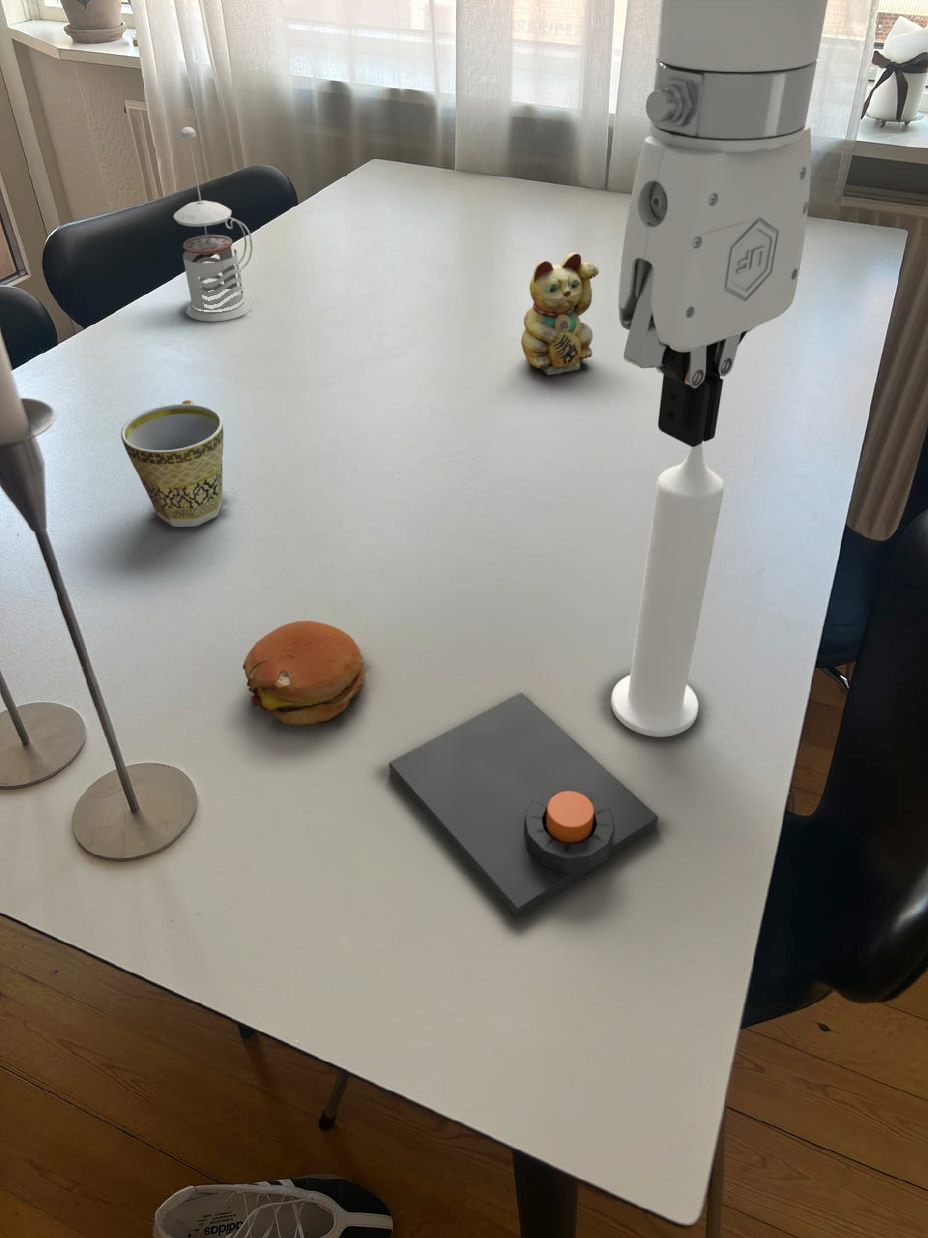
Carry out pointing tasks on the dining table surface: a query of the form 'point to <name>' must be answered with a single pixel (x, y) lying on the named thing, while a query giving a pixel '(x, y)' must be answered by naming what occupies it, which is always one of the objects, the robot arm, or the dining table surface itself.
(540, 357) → the decorative figurine
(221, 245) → the french press
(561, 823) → the button
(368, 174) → the dining table surface
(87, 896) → the dining table surface
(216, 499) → the ceramic cup
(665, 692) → the candle
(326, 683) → the burger
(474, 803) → the scale
